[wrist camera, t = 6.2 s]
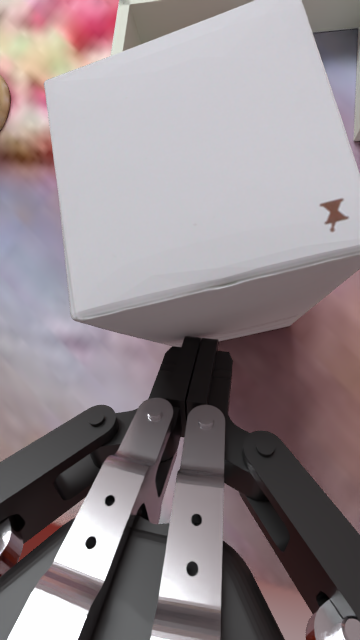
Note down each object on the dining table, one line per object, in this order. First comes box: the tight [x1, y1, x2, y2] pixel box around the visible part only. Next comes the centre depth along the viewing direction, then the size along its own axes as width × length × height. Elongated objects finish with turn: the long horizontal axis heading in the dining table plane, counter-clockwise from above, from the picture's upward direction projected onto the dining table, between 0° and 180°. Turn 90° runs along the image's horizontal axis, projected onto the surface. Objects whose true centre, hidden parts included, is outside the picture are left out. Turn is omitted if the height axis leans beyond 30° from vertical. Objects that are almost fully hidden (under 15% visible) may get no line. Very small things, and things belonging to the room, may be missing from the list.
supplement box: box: [44, 0, 360, 347], centre depth 13 cm, size 7×7×13 cm
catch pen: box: [111, 0, 360, 141], centre depth 20 cm, size 9×17×3 cm, turn 84°
